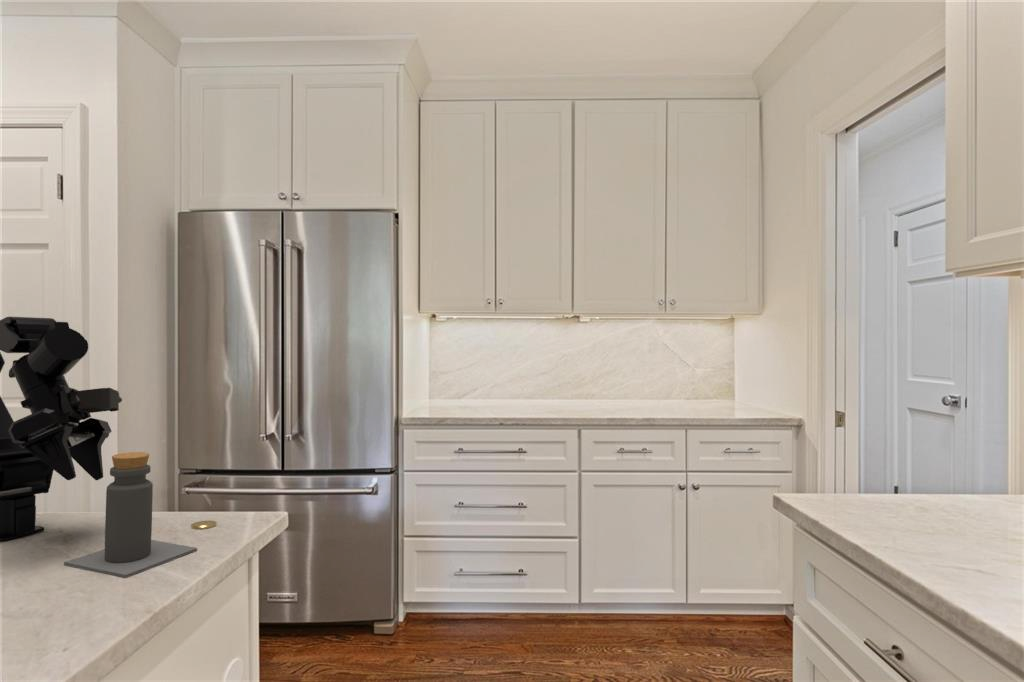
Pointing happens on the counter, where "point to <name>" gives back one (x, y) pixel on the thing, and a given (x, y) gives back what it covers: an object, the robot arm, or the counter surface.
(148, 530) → the bottle
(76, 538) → the counter surface
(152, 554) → the slate mat
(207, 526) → the brass token
